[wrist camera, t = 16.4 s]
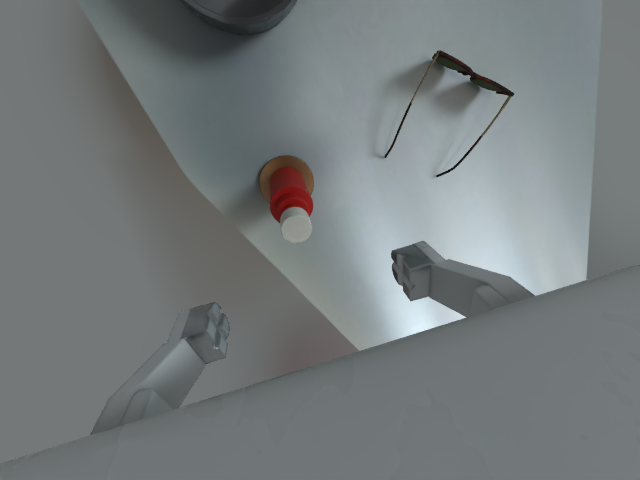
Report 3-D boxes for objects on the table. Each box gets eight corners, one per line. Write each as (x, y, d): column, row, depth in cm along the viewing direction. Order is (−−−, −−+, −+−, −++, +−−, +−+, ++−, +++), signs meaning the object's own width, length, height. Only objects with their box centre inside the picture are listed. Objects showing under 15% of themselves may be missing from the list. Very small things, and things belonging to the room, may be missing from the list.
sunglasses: (492, 91, 39) (517, 94, 35) (438, 176, 47) (454, 186, 43) (421, 52, 35) (441, 49, 31) (374, 153, 42) (385, 161, 38)
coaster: (269, 213, 43) (269, 215, 42) (251, 163, 38) (251, 164, 38) (318, 200, 43) (319, 201, 43) (306, 149, 39) (306, 149, 38)
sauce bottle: (275, 203, 42) (279, 257, 28) (265, 171, 39) (262, 214, 25) (307, 194, 42) (326, 243, 28) (298, 162, 39) (315, 199, 25)
